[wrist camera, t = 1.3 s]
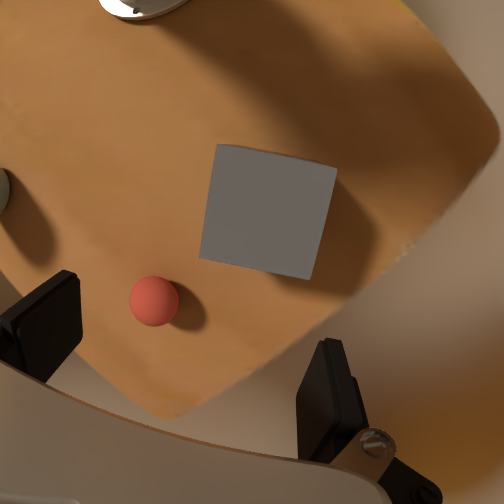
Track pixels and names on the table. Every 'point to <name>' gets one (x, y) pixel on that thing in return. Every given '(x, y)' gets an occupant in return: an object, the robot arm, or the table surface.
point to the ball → (154, 301)
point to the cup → (4, 190)
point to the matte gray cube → (266, 210)
